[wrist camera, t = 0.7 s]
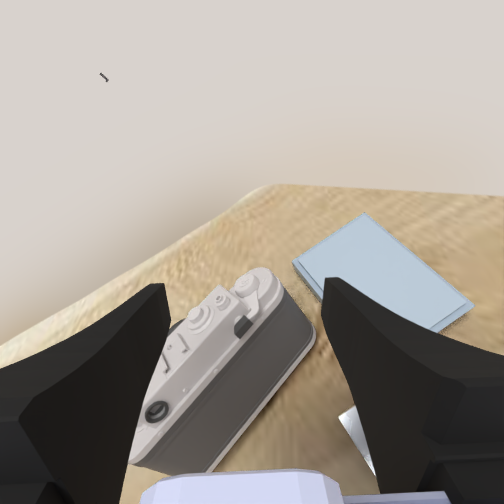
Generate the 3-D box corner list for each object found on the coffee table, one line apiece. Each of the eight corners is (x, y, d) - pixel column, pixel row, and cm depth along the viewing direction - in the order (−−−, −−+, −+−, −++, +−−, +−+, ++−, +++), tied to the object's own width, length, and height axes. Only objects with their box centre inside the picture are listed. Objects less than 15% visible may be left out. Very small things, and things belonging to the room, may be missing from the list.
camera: (331, 338, 23) (276, 259, 17) (198, 507, 19) (74, 477, 14) (269, 296, 31) (217, 233, 25) (165, 413, 27) (76, 369, 21)
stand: (465, 313, 22) (478, 303, 20) (377, 374, 22) (381, 371, 20) (363, 223, 29) (365, 209, 27) (294, 269, 28) (290, 258, 26)
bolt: (100, 74, 156) (98, 75, 155) (101, 72, 155) (99, 73, 154) (108, 81, 159) (106, 83, 158) (109, 79, 157) (107, 81, 156)
